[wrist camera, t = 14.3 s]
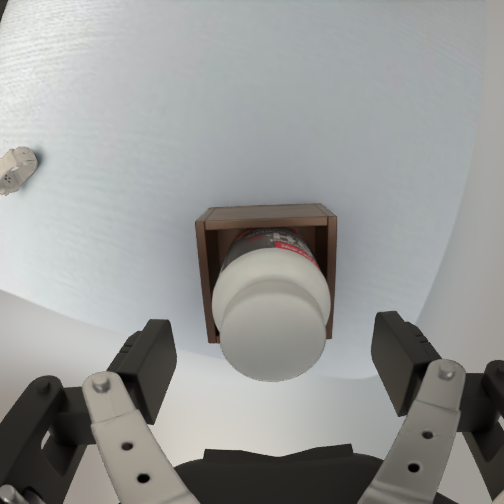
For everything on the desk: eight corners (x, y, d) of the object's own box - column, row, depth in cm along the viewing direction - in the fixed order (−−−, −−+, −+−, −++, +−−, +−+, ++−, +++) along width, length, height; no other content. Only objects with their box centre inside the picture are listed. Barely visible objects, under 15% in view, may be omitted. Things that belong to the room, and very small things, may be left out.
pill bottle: (308, 216, 20) (349, 269, 10) (311, 294, 21) (341, 390, 12) (222, 222, 20) (189, 280, 11) (231, 300, 22) (211, 398, 12)
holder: (321, 203, 20) (337, 216, 16) (319, 305, 22) (331, 339, 18) (208, 207, 20) (194, 221, 16) (217, 309, 22) (208, 343, 18)
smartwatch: (38, 141, 19) (4, 142, 15) (49, 162, 20) (15, 166, 16) (14, 171, 20) (-19, 177, 16) (25, 191, 20) (-8, 200, 16)
